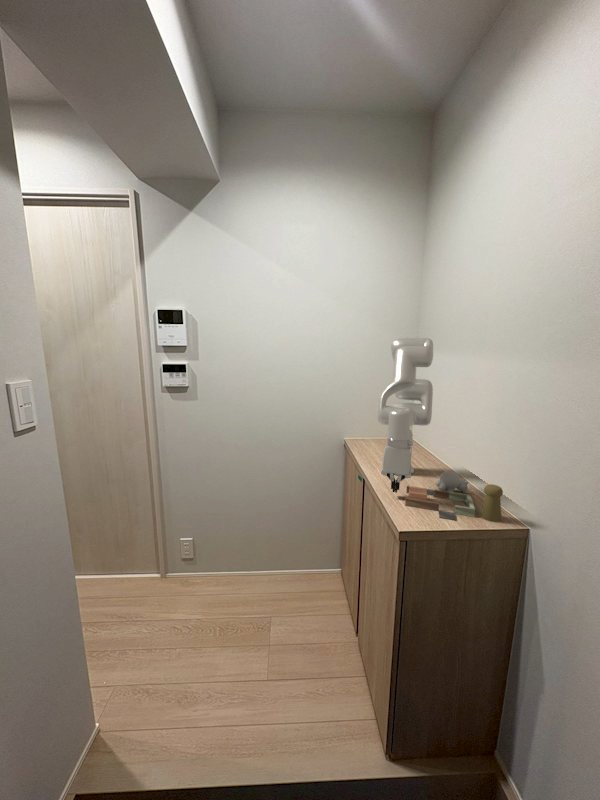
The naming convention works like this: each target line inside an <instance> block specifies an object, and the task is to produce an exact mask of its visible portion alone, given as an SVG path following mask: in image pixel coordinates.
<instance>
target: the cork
mask: <svg viewBox="0 0 600 800" xmlns="http://www.w3.org/2000/svg"><path fill="white" fill-rule="evenodd" d="M483 490H484V494H485V496H484V498H483V499H484V500H483V504H482V507H481V512H480V513H479V514H480V517H481V518H482V519H483V520H486V521H488V522H492V523H500V522H501V521H502V509H501V508H502V507H501V506H502V504H501V497H503V493H504V492H503V489H502V487H501V486H499V485H496V484H490V483H489V484H486V485H485V486H484V489H483Z"/></svg>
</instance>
